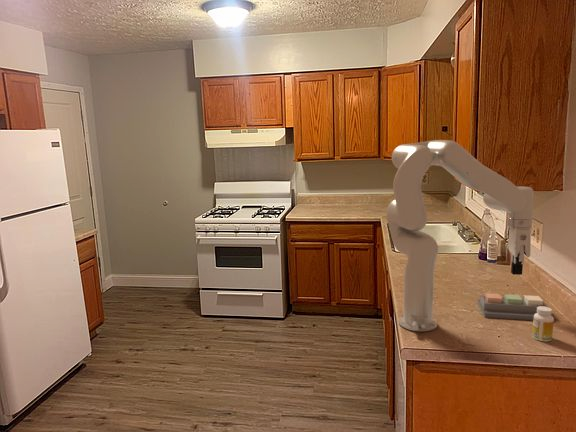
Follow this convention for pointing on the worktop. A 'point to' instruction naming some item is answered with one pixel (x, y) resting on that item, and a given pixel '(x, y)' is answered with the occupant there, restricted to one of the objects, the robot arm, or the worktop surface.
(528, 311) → the console
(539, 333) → the supplement bottle
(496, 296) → the terracotta key
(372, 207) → the worktop surface
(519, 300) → the sage key
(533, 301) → the cream key
